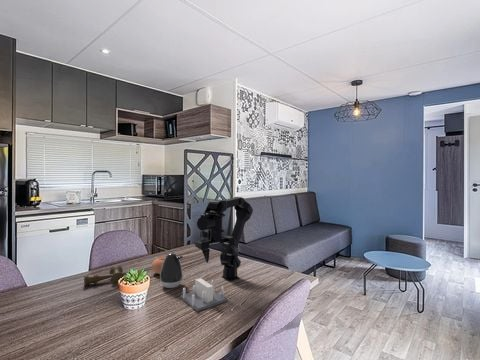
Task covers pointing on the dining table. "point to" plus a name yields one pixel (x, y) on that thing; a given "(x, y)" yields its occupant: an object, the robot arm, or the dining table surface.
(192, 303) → the rack
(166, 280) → the pump dispenser
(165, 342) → the dining table surface
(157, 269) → the tomato
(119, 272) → the kendama
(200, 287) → the tile
